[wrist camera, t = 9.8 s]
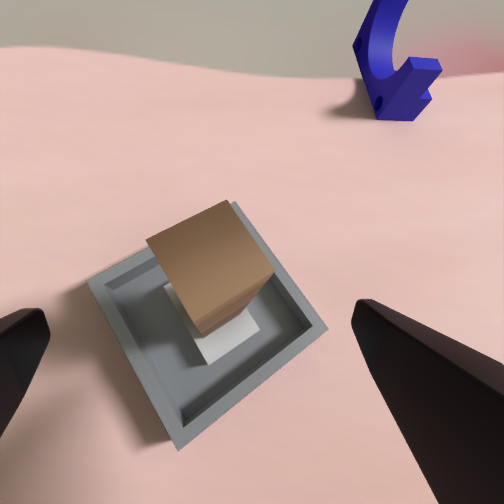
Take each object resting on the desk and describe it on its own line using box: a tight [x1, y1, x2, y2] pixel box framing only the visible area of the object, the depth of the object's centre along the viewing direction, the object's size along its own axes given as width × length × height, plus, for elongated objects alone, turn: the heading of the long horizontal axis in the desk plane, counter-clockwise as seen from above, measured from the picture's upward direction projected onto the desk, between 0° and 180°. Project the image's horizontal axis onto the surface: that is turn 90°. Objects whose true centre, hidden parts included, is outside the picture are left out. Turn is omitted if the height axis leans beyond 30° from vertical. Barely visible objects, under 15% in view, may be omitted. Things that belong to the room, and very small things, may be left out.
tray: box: [86, 201, 328, 451], centre depth 19 cm, size 12×12×2 cm
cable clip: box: [352, 0, 442, 121], centre depth 29 cm, size 12×4×6 cm, turn 6°
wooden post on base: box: [146, 200, 275, 365], centre depth 14 cm, size 6×4×12 cm, turn 33°
